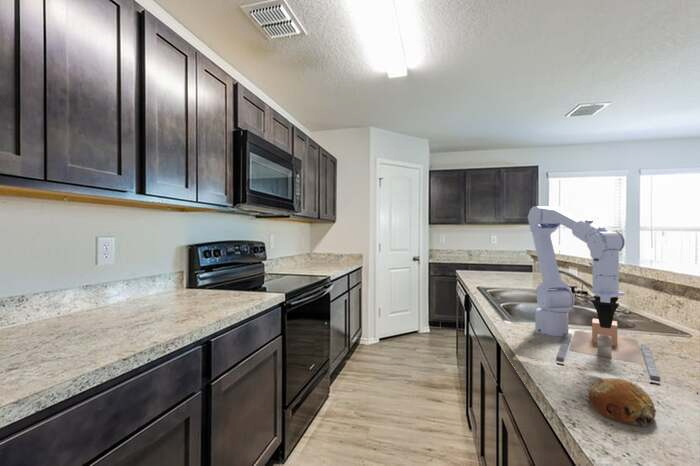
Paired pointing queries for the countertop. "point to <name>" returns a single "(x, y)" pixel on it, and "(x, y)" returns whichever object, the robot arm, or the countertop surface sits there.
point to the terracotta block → (604, 331)
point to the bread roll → (622, 401)
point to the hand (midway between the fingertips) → (605, 324)
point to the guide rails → (645, 348)
